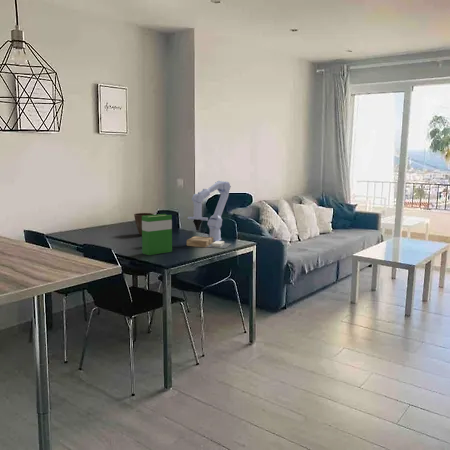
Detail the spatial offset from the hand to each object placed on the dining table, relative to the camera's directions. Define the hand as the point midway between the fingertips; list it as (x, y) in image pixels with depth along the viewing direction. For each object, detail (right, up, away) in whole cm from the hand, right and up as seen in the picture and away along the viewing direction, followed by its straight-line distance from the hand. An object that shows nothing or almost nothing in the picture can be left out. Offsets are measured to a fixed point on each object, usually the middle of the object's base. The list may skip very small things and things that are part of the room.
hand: (197, 230), depth 334 cm
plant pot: (-43, -4, +34) cm, 55 cm away
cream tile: (+15, -9, -7) cm, 19 cm away
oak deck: (+2, -10, -2) cm, 10 cm away
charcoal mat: (+15, -11, -6) cm, 20 cm away
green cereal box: (-24, -14, -30) cm, 41 cm away
